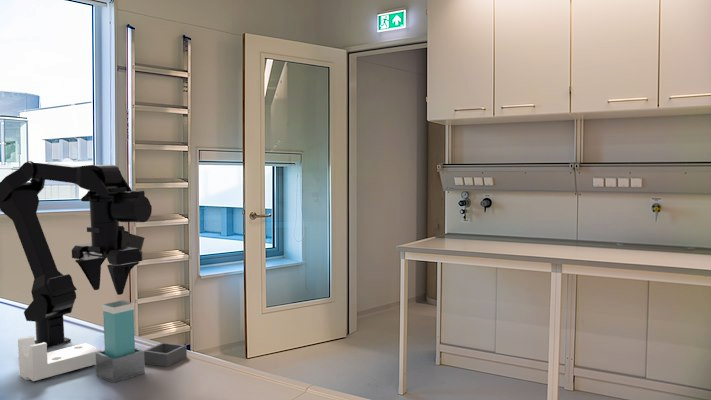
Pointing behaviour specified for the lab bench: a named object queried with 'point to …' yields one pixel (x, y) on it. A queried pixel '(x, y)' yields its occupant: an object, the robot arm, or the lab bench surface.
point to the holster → (165, 354)
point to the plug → (118, 328)
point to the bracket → (52, 359)
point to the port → (120, 366)
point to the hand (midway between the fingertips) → (108, 292)
